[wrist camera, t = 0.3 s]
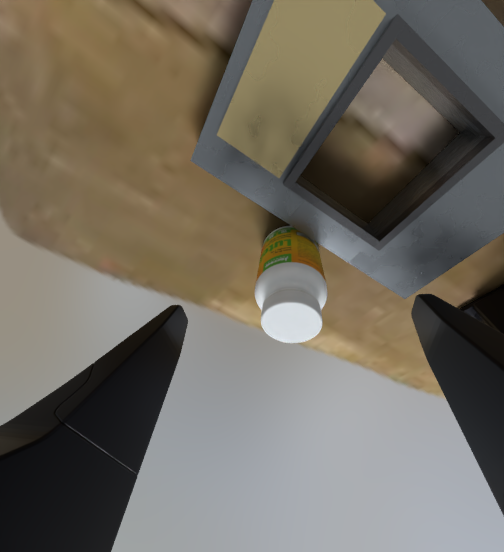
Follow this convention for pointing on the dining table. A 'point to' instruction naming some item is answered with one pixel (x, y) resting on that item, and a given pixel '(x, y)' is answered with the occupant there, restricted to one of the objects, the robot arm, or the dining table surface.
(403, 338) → the dining table surface
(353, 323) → the dining table surface
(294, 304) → the supplement bottle
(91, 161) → the dining table surface
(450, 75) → the grey base block
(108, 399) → the robot arm
